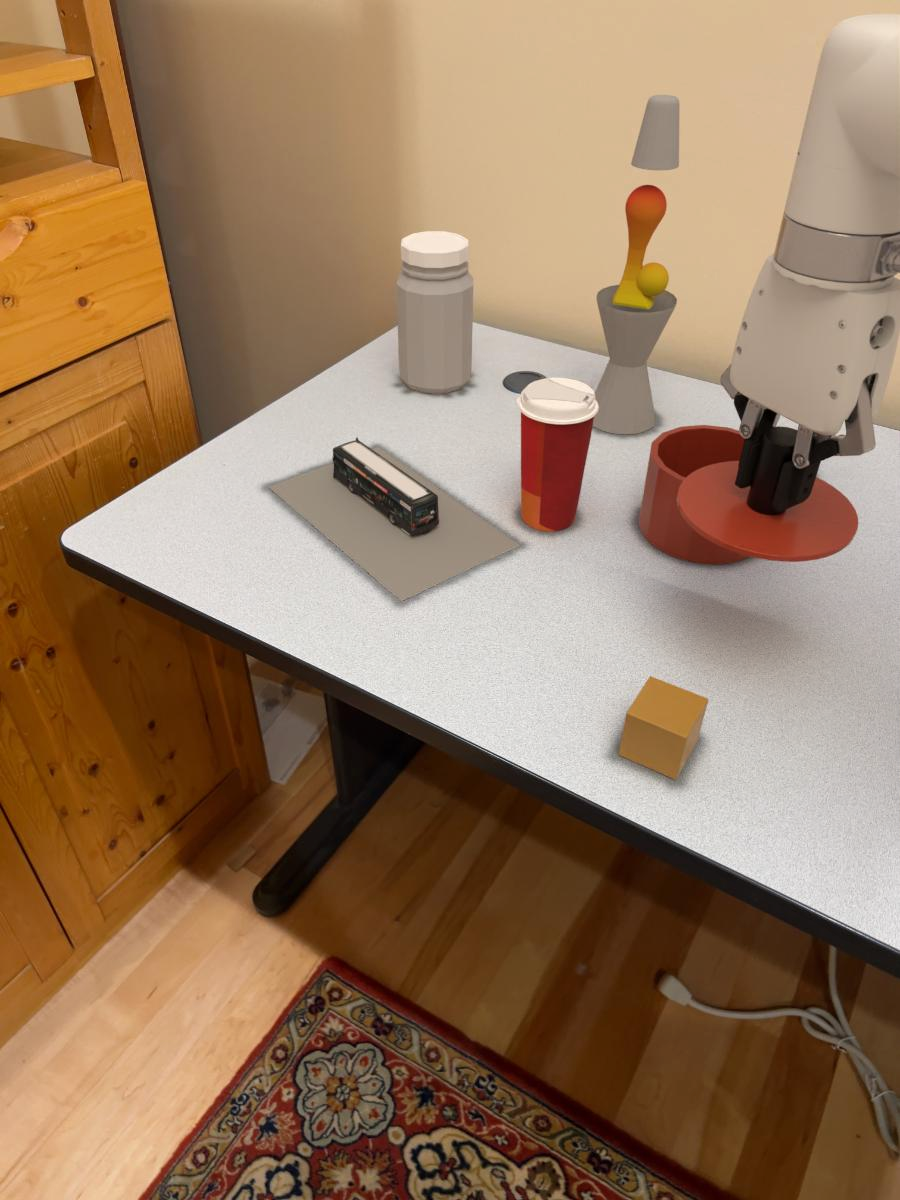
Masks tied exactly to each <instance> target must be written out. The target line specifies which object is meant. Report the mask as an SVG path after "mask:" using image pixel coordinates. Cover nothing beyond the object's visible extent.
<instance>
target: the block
mask: <svg viewBox="0 0 900 1200" xmlns="http://www.w3.org/2000/svg"><path fill="white" fill-rule="evenodd" d="M708 703H709V698H708V697H704V696H702V695H699V694H697V693H695V692H692V691H689V690H687V689H685V688H682V687H680V686H677V685H674V684H672V683H669V682H667V681H664V680H662V679H659V678H657V677H654V676H651V675H649V677H648V679H647V680H646V681H645V683H644V685H643V686H642V688H641V690H640V691H639V693H638V694H637V695H636V697H635V699H634V700H633V702H632V703H631V704H630V706H629V707H628V709H627V711H626V713H625V717H624V724H623V729H622V735H621V740H620V745H619V750H618V756H620V757H622V758H624V759H627V760H629V761H631V762H634V763H636V764H638V765H641V766H643V767H645V768H647V769H649V770H652V771H654V772H657V773H659V774H661V775H663V776H665V777H668V778H670V779H672V780H675V781H676V780H678V778H679V776H680V774H681V772H682V771H683V769H684V767H685V765H686V764H687V761H688V760H689V757H690V755H691V753H692V752H693V750H694V748H695V746H696V745H697V743H698V740H699V738H700V733H701V730H702V725H703V722H704V718H705V715H706V710H707V707H708Z"/></svg>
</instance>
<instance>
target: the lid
mask: <svg viewBox="0 0 900 1200" xmlns="http://www.w3.org/2000/svg"><path fill="white" fill-rule="evenodd" d="M797 431H798V429H795V428H793V427H789V426H776V427H772V428H769V429H767V430H766V431H765V433H764V436H763V440H762V444H761V448H760V452H759V455H758V459H757V463H756V467H755V471H754V475H753V478H752V482H751V486H749V487H746V488H739V487H738V486H736V485H735V480H736V476H737V472H738V464H739V461H729V462H721V463H716V464H712V465H708V466H705V467H703V468H700V469H698V470H696V471H694V472H693V473H691V474H690V475H689V476H687V477H686V478H685V479H684V481H683V482H682V483H681V485H680V487H679V490H678V496H677V505H678V508H679V511H680V513H681V515H682V517H683V518H684V520H685V521H686V522H687V524H688V525H689V526H691V527H692V528H693V529H694V530H695V531H696V532H697V533H699V534H700V535H701V536H703V537H704V538H706V539H708V540H709V541H711V542H713V543H715V544H717V545H719V546H721V547H723V548H726V549H728V550H731V551H733V552H736V553H739V554H742V555H746V556H750V558H755V559H759V560H765V561H772V562H773V561H774V562H784V563H797V562H798V563H799V562H810V561H816V560H821V559H824V558H828V557H832V556H834V555H836V554H838V553H840V552H841V551H843V550H845V549H846V548H847V547H848V546H849V545H850V544H851V543H852V542H853V540H854V539H855V536H856V534H857V531H858V528H859V516H858V513H857V510H856V509H855V506H854V505H853V503H852V502H851V501H850V500H849V499H848V497H847V496H845V494H843V492H841V491H840V490H838V489H837V488H836V486H835V487H834V486H833V485H832V484H830V483H828V482H827V481H825V480H823V479H821V478H819V477H817V476H816V479H815V482H814V485H813V488H812V492H811V494H810V496H809V497H808V499H807V500H805V501H804V502H803V503H800V504H798V505H795V506H793V507H791V508H788V509H786V510H783V511H781V512H778V511H777V510H775V509H773V506H772V502H773V499H774V495H775V492H776V488H777V485H778V481H779V478H780V474H781V470H782V467H783V465H784V463H786V462H788V461H791V460H792V457H793V452H794V447H795V441H796V436H797Z"/></svg>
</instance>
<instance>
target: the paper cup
mask: <svg viewBox="0 0 900 1200" xmlns="http://www.w3.org/2000/svg"><path fill="white" fill-rule="evenodd" d="M515 403H516V405H517V408H518V410H519V411H520V506H521V507H520V510H521V511H520V512H521V519H522V520H523V522H524V523H525V525H527V526H528V527H530V528H532V529H534V530H537V531H540V532H541V531H542V532H552V533H553V532H560V531H563V530H566V529H568V528H570V527H571V526H572V525H573V524H574V522H575V519H576V516H577V511H578V507H579V502H580V501H579V500H580V495H581V490H582V485H583V480H584V474H585V469H586V464H587V458H588V455H589V454H588V453H589V448H590V444H591V438H592V432H593V420H594V416H595V415H596V414H597V412H598V408H599V407H598V403H597V401H596V399H595V390H593V388H592V387H590V386H589V385H588V384H586V383H584V382H582V381H579V380H576V379H572V378H567V377H546V378H545V377H544V378H541V379H538V380H537V379H536V380H534V381H532V382H530V383H529V384H527V385H526V386H525V388H523V389H522V391H521V392H520V395H519V396H518V397H517V399H516V402H515Z"/></svg>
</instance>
